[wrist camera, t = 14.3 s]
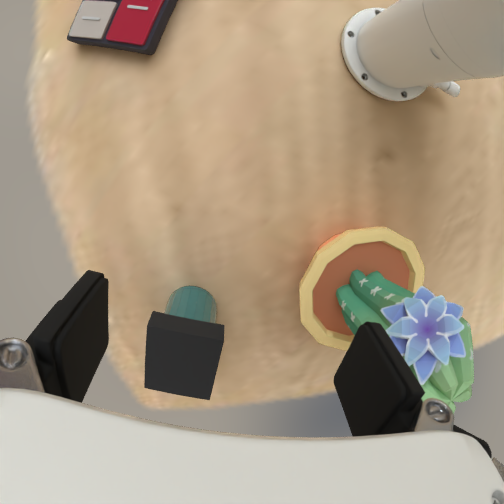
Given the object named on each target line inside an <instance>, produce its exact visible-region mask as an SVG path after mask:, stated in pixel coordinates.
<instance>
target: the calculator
mask: <svg viewBox="0 0 504 504" xmlns="http://www.w3.org/2000/svg"><path fill="white" fill-rule="evenodd" d="M177 1H178V0H83V1H82V3H81V5H80V7H79V10H78V12H77V14H76V16H75V19H74V21H73V23H72V26H71V28H70V31H69V33H68V36H67V40H69V41H71V42H74V43H77V44H83V45H92V46H99V47H107V48H114V49H120V50H126V51H132V52H137V53H142V54H148V55H153V54H154V53H155V51H156V48H157V46H158V43H159V41H160V39H161V36H162V34H163V32H164V29H165V27H166V25H167V22H168V20H169V18H170V16H171V14H172V12H173V9H174V7H175V5H176V3H177Z"/></svg>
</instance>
